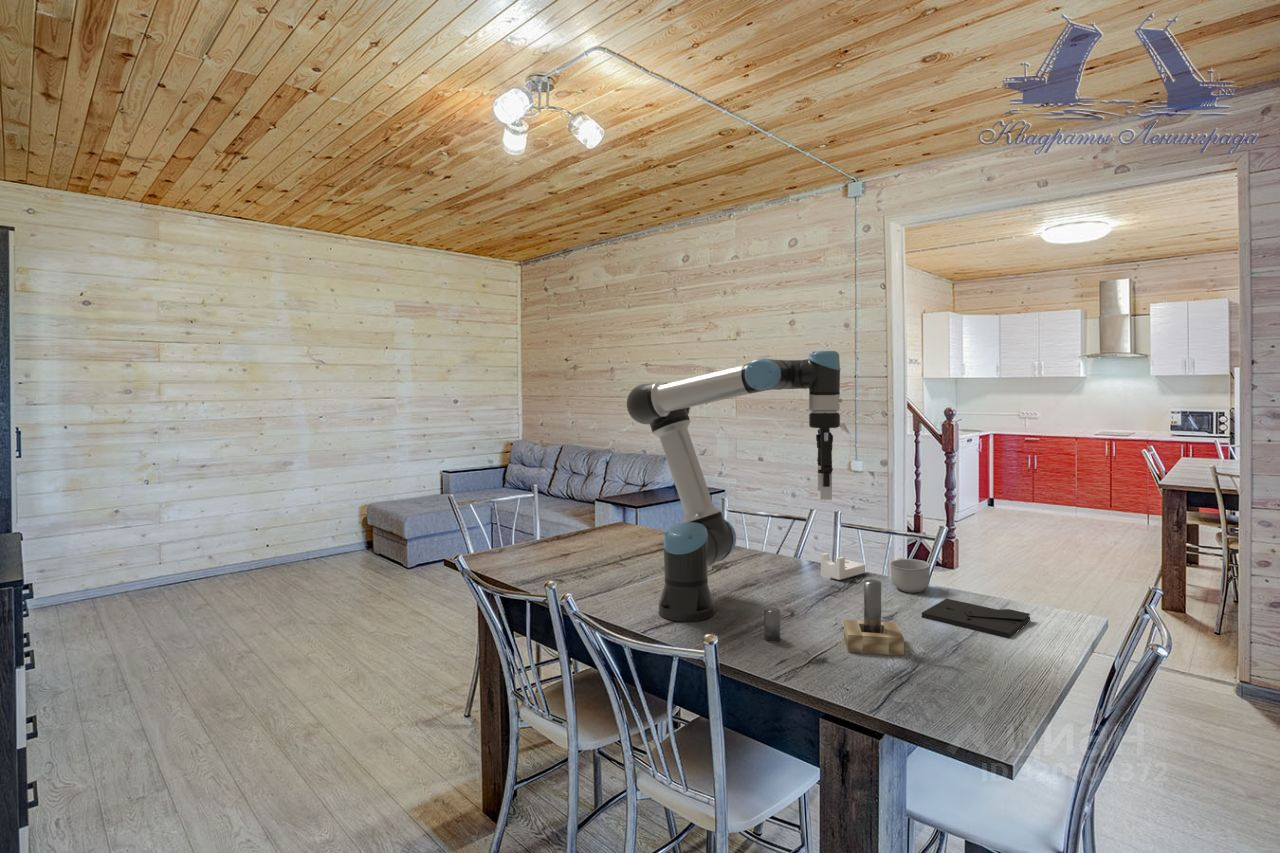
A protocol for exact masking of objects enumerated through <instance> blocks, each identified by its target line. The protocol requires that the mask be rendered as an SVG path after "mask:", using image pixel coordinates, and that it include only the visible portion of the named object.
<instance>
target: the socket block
mask: <svg viewBox="0 0 1280 853" xmlns="http://www.w3.org/2000/svg"><path fill="white" fill-rule="evenodd" d="M843 636H844V641H845V647H846V651H847V652H848V653H856V654H857V653H858V654H861V653H862V654H871V655H872V654H875V655H886V656H887V655H888V656H905V654H904V652H905V645H904V644H905V637H904V636H903V633H902V631H901V630H900V628H899V625H898V623H897V622H893V621H881V633H867V632H864V620H861V619H860V620H859V619H843Z"/></svg>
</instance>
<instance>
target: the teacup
mask: <svg viewBox="0 0 1280 853" xmlns="http://www.w3.org/2000/svg"><path fill="white" fill-rule="evenodd" d="M889 564H890V576H891V582H892V584H893V585H894V586H895V587H896V588H898V590H899V591H901V592H905V593H912V594H913V593H914V594H915V593H920V592H923V591H924V590H925V589H927V588H928V587H929V585H930V581H931V580H930V577H931V576H930V575H931V574H930V571H931V570H930V567H931V564H930V563H929V562H927V561H925V560H920V559H915V558H903V557H898V558H897V559H894V560H892V561H891V562H890V563H889Z"/></svg>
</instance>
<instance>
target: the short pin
mask: <svg viewBox="0 0 1280 853" xmlns="http://www.w3.org/2000/svg"><path fill="white" fill-rule="evenodd" d="M763 639H764V641H766V640H767V642H769V641H778V642H779V640H780V641H781V610H780V609H779V608H777V607H766V608H764V609H763Z"/></svg>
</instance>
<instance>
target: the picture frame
mask: <svg viewBox="0 0 1280 853" xmlns="http://www.w3.org/2000/svg"><path fill="white" fill-rule="evenodd" d="M921 618H922V619H926V620H930V621H935V622H938V623H943V624H946V625H951V626H954V627H959V628H962V629H963V628H964V629H967V630H972V631H976V632H979V633H983V634H988V635H991V636H996V637H999V638H1004V639H1007V640H1009V639H1010V638H1012V637H1013V636H1014V635H1016V634H1017V633H1018V632H1019V631H1021V630H1022V629H1023V628H1024V627H1026V626H1027V625H1028V624H1029V623H1030V622H1031V613H1028V612H1024V611H1019V610H1014V609H1011V608H1010V609H1009V608H1005V609H1003V608H1002V609H997V608H993V607H987V606H983V605H978V604H975V603H969V602H965V601H960V600H955V599H952V598H945V599H943V600H941V601H940V602H938V603H936V604H934V605H933V606H930V607H929V608H927V609H926V610H924V611H922V612H921ZM1029 621H1030V622H1029ZM1028 622H1029V623H1028ZM1027 623H1028V624H1027ZM1026 624H1027V625H1026ZM1023 626H1024V627H1023ZM1022 627H1023V628H1022ZM1021 628H1022V629H1021ZM1018 630H1019V631H1018ZM1017 631H1018V632H1017ZM1016 632H1017V633H1016ZM1011 636H1012V637H1011Z"/></svg>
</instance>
